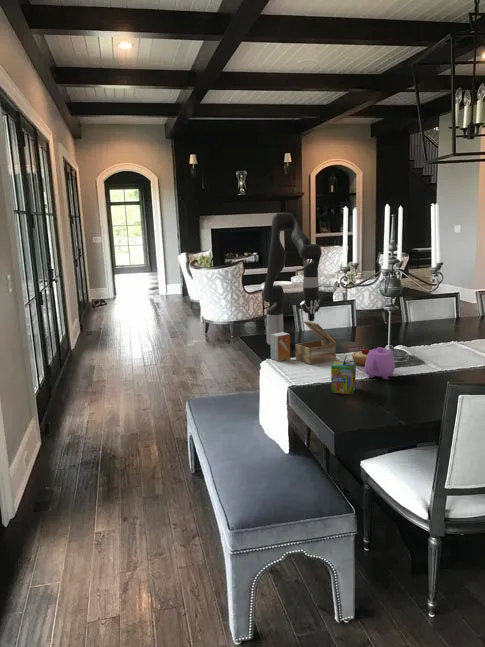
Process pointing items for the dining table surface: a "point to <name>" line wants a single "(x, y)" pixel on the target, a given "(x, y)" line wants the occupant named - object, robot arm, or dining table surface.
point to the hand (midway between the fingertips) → (311, 321)
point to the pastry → (360, 356)
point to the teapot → (379, 363)
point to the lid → (319, 331)
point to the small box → (280, 346)
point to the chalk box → (343, 376)
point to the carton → (315, 352)
